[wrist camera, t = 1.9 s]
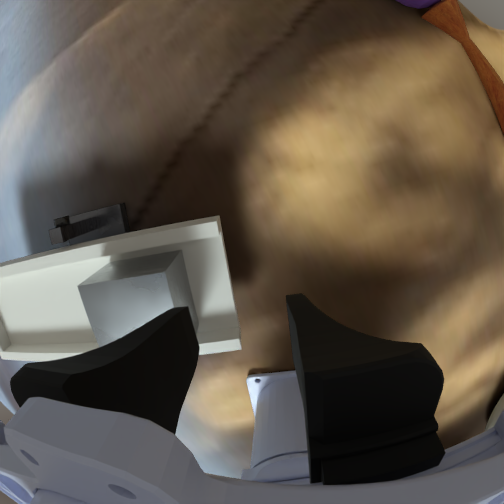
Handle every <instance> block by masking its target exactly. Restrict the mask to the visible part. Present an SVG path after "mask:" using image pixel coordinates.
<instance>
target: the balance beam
mask: <svg viewBox="0 0 504 504" xmlns="http://www.w3.org/2000/svg"><path fill="white" fill-rule="evenodd" d="M176 250H182V253H183V257H184V262H185V266H186V271H187V275H188V280H189V284H190V288H191V293H192V297H193V301H194V305H195V309H196V313H197V317H198V321H199V326H198V330H197V334H196V336H197V340H198V343H199V347H200V350H199V355H202V354H211V353H219V352H226V351H233V350H240V349H241V328H240V323H239V318H238V313H237V308H236V303H235V297H234V292H233V287H232V282H231V276H230V271H229V266H228V260H227V255H226V249H225V244H224V238H223V233H222V227H221V221H220V216H213V217H207V218H202V219H196V220H190V221H185V222H180V223H174V224H169V225H164V226H159V227H154V228H149V229H144V230H139V231H134V232H129V233H124V234H119V235H115V236H110V237H105V238H101V239H96V240H92V241H87V242H83V243H79V244H74V245H70V246H66V247H61V248H57V249H53V250H49V251H45V252H41V253H37V254H33V255H29V256H25V257H21V258H17V259H13V260H10V261H6V262H2V263H0V356H1V358H2V359H6V360H21V361H42V362H43V361H51V360H57V359H62V358H66V357H71V356H75V355H78V354H82V353H84V352H87V351H90V350H93V349H96V348H99V345H98V343H97V340H96V338H95V335H94V333H93V330H92V328H91V325H90V322H89V319H88V317H87V314H86V311H85V308H84V305H83V302H82V299H81V296H80V293H79V290H78V287H77V286H78V285H79V284H80V283H82V282H83V281H85V280H86V279H87V278H89V277H90V276H91V275H93V274H94V273H95V272H97V271H98V270H100V269H101V268H102V267H104V266H105V265H107V264H108V263H109V262H114V261H119V260H125V259H131V258H136V257H142V256H147V255H153V254H159V253H164V252H170V251H176Z"/></svg>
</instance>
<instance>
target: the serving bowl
mask: <svg viewBox="0 0 504 504" xmlns="http://www.w3.org/2000/svg"><path fill="white" fill-rule="evenodd" d="M503 410H504V394H503V395H502V397H501V398H500V400H499V401H498V403H497V405H496V406H495V408H494V410H493V412H492V414H491V416H490V418H489V420H488V423H487V425H486V428H485V431H487V430H489V429H490V428H492V427H494V426H495V423H496V421H497V418H498V417H499V415H500V413H501V412H502V411H503Z"/></svg>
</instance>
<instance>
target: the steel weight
mask: <svg viewBox="0 0 504 504" xmlns="http://www.w3.org/2000/svg"><path fill="white" fill-rule="evenodd" d="M77 287H78V290H79V293H80V296H81V299H82V302H83V305H84V308H85V311H86V314H87V317H88V319H89V322H90V325H91V328H92V330H93V333H94V335H95V338H96V340H97V343H98V345H99V347H102V346H104V345H106V344H109V343H111V342H113V341H115V340H117V339H119V338H121V337H123V336H125V335H127V334H128V333H130V332H132V331H134V330H135V329H137V328H139V327H141V326H142V325H144V324H146V323H147V322H149V321H151V320H152V319H154V318H155V317H157V316H159V315H160V314H162V313H164V312H165V311H167V310H169V309H171V308H174V307H184V306H188V307H189V311H190V315H191V318H192V322H193V326H194V329H195V333H196V334H197V330H198V326H199V321H198V317H197V313H196V309H195V305H194V301H193V297H192V293H191V288H190V284H189V280H188V275H187V271H186V266H185V262H184V257H183V253H182V250H176V251H170V252H164V253H159V254H153V255H147V256H142V257H136V258H131V259H125V260H119V261H114V262H109V263H108V264H107V265H105V266H104V267H102V268H101V269H100V270H98V271H97V272H95V273H94V274H93V275H91V276H90V277H89V278H87V279H86V280H85V281H83V282H82V283H80V284H79V285H78V286H77Z"/></svg>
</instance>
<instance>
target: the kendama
mask: <svg viewBox="0 0 504 504" xmlns="http://www.w3.org/2000/svg"><path fill="white" fill-rule="evenodd" d="M396 1H398V2H400V3H401V4H403V5H405V6H409V7H413V8H418V9H421V8H429V7H431V8H430V9H429V10H428V11H427V12H426V13H425V14H424V15H423V16H422V17H421V18H423V19H425V20H427V21H428V22H430V23H431V24H433V25H435V26H436V27H438V28H439V29H441V30H442V31H444V32H446V33H447V34H449V35H450V36H451V37H453V38H454V39H456V40H457V41H459V42H460V43H461V44H462V46H463V48H464V49H465V51H466V53H467V55H468V56H469V58H470V60H471V62H472V64H473V66H474V67H475V69H476V71H477V73H478V75H479V77H480V79H481V81H482V83H483V85H484V87H485V90H486V92H487V94H488V96H489V98H490V101H491V103H492V105H493V108H494V110H495V113H496V115H497V118H498V120H499V123H500V126H501V128H502V131H503V134H504V83H503V82H502V80H501V79H500V77H499V76H498V74H497V73H496V72H495V70H494V69H493V67H492V66H491V65H490V63H489V62H488V61H487V59H486V58H485V57H484V55H483V54H482V53H481V51H480V50H479V49H478V48H477V46H476V45H475V44H474V43H473V42H472V40H471V39H470V38H469V34H468V31H467V28H466V25H465V22H464V19H463V16H462V13H461V10H460V7H459V5H458V2H457V0H443V1H441V0H396Z"/></svg>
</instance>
